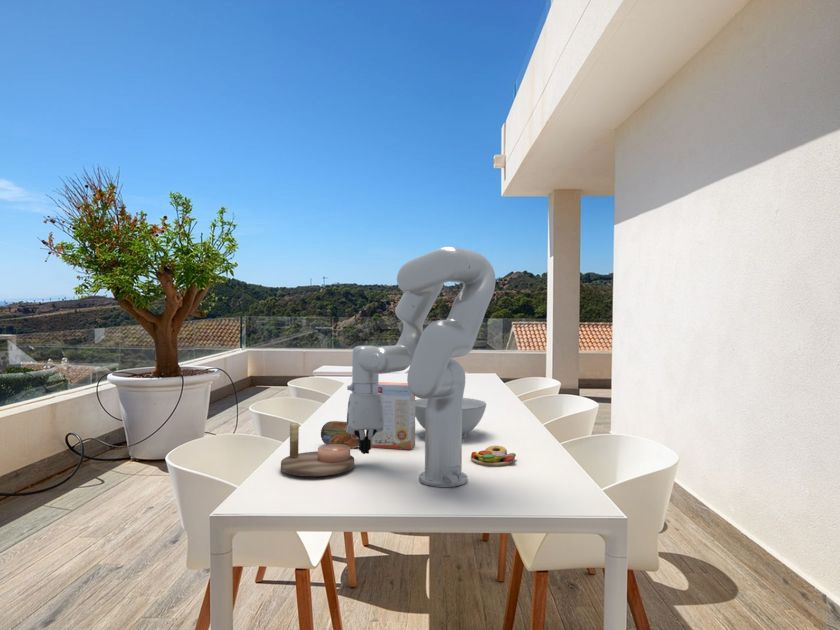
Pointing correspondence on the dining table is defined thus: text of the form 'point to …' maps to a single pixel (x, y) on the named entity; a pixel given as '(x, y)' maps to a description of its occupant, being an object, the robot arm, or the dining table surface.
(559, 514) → the dining table surface
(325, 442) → the tin
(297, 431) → the turntable
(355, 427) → the robot arm
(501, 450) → the toy food set
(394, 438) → the cracker box
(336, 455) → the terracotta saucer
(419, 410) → the decorative bowl
